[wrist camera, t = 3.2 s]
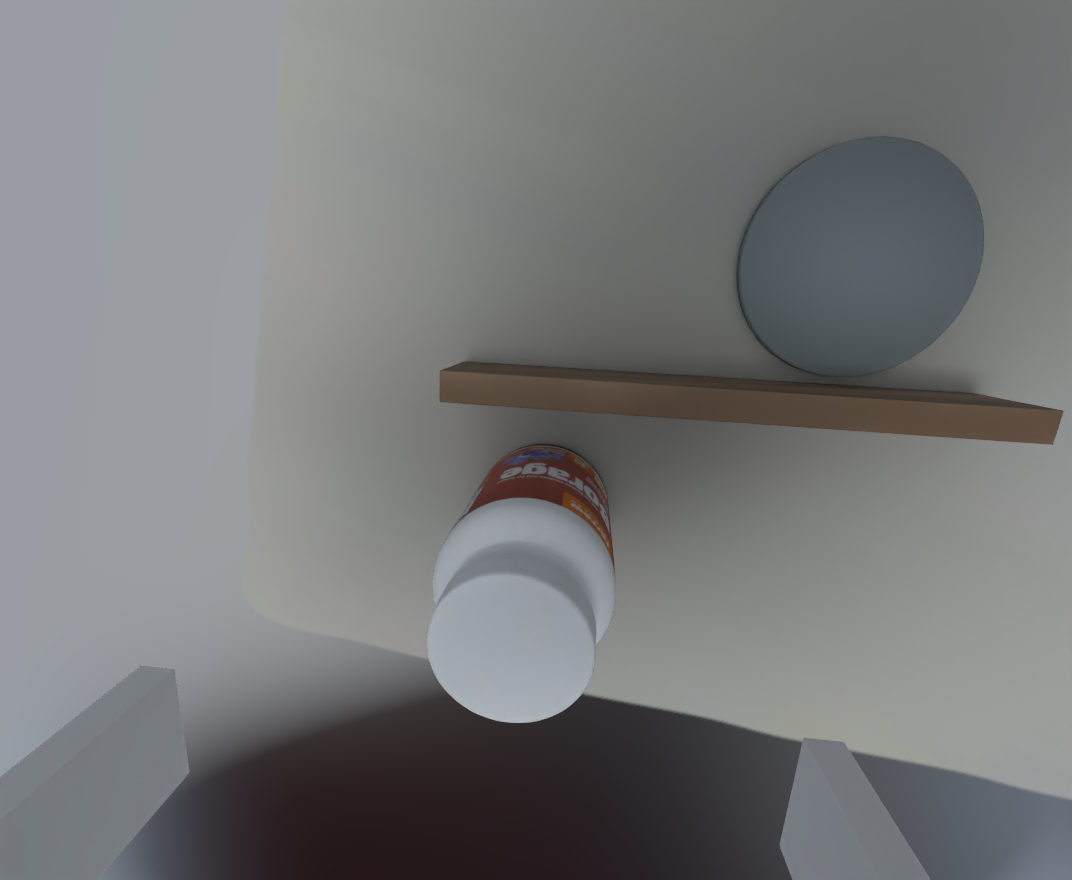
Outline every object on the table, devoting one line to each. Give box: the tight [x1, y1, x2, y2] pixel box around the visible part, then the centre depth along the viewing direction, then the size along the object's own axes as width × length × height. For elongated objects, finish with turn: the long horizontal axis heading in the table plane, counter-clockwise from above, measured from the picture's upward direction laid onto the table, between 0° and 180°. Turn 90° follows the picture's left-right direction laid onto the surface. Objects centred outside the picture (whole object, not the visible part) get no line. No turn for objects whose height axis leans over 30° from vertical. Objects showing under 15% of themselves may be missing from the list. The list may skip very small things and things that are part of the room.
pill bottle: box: [426, 445, 616, 723], centre depth 19 cm, size 6×6×11 cm
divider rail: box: [440, 362, 1063, 445], centre depth 20 cm, size 1×22×4 cm, turn 87°
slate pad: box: [737, 136, 984, 377], centre depth 20 cm, size 9×9×1 cm
